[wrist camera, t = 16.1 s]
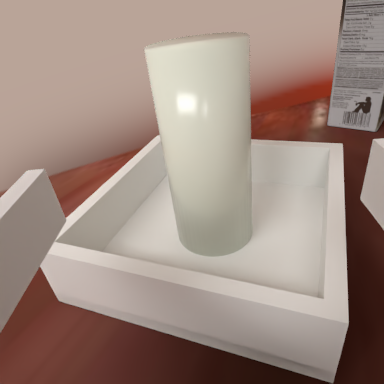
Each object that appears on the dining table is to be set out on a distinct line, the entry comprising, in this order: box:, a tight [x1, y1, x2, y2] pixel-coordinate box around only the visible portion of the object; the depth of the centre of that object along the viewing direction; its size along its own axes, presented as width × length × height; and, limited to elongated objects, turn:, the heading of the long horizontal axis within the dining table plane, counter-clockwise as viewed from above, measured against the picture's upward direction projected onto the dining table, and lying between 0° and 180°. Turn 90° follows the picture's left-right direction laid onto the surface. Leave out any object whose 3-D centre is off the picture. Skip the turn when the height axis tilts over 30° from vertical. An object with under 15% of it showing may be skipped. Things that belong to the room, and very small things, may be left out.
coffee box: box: [327, 0, 384, 132], centre depth 39 cm, size 9×6×16 cm
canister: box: [144, 32, 253, 257], centre depth 21 cm, size 6×6×14 cm
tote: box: [40, 135, 349, 383], centre depth 24 cm, size 18×18×5 cm
